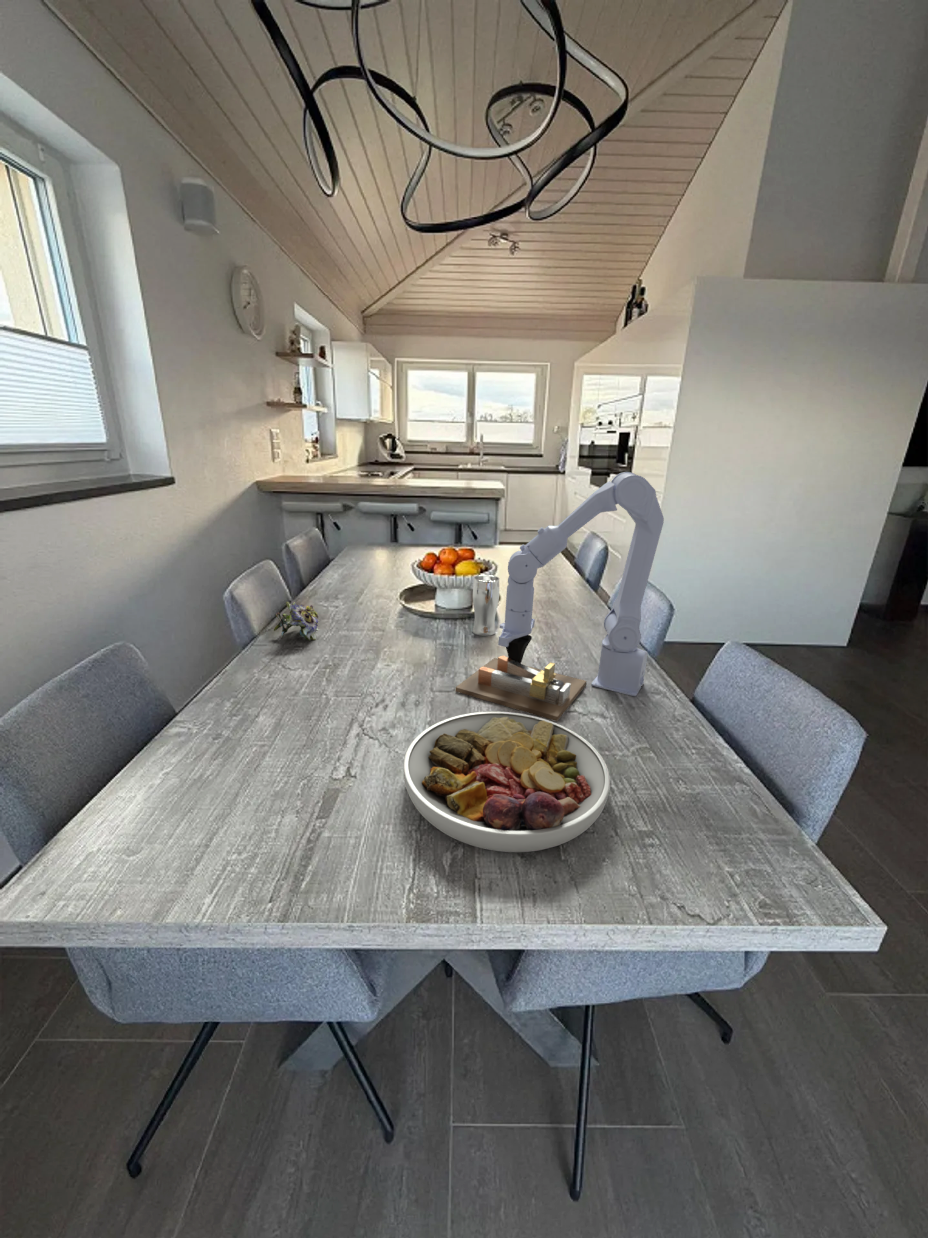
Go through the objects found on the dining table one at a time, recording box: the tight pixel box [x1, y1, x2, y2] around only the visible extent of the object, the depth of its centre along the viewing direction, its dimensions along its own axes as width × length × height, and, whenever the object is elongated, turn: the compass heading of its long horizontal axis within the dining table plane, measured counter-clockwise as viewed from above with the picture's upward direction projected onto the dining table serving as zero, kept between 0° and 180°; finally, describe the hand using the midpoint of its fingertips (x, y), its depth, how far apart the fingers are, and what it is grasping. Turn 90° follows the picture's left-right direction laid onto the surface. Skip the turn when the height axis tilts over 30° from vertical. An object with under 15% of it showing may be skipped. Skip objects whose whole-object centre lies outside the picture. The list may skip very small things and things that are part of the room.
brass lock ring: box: [529, 662, 556, 700], centre depth 104 cm, size 3×6×6 cm, turn 151°
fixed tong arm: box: [478, 665, 571, 706], centre depth 107 cm, size 18×4×3 cm, turn 61°
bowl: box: [403, 711, 611, 853], centre depth 78 cm, size 30×30×8 cm
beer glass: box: [472, 574, 500, 637], centre depth 139 cm, size 7×7×15 cm
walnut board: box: [455, 657, 587, 722], centre depth 111 cm, size 22×18×1 cm
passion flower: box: [273, 601, 319, 642], centre depth 132 cm, size 11×11×12 cm
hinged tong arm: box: [497, 655, 564, 699], centre depth 110 cm, size 17×2×3 cm, turn 41°
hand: (514, 666), depth 116 cm, fingers closed
